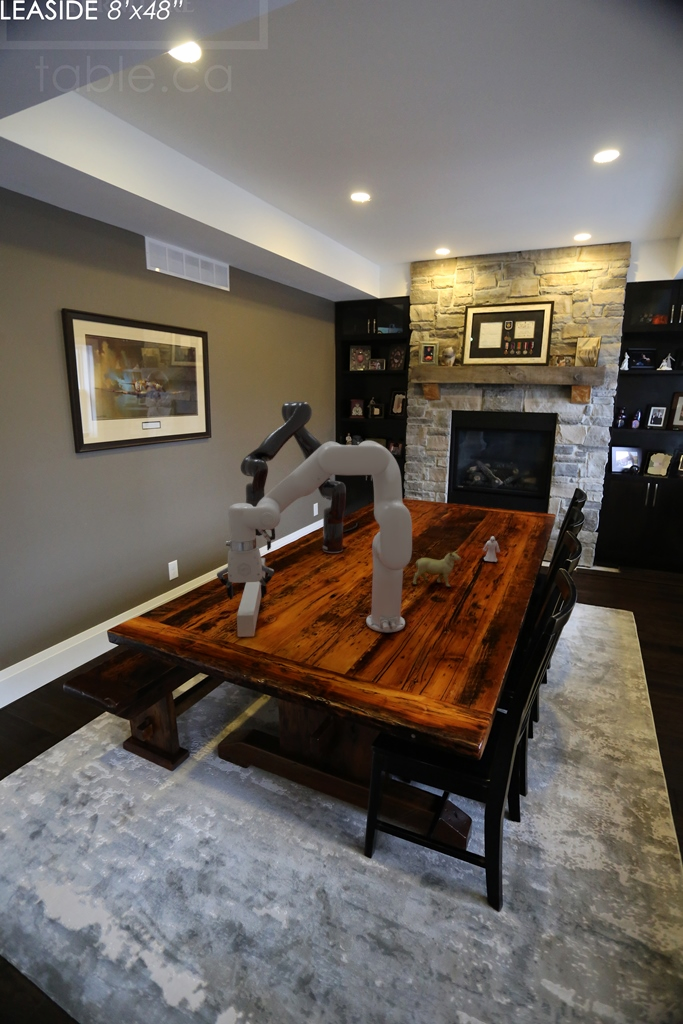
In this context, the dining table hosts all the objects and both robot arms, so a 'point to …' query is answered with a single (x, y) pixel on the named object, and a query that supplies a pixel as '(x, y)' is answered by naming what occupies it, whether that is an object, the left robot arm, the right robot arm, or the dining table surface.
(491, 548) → the figurine
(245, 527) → the right robot arm
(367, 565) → the dining table surface
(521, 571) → the dining table surface
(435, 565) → the toy
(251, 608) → the bar
